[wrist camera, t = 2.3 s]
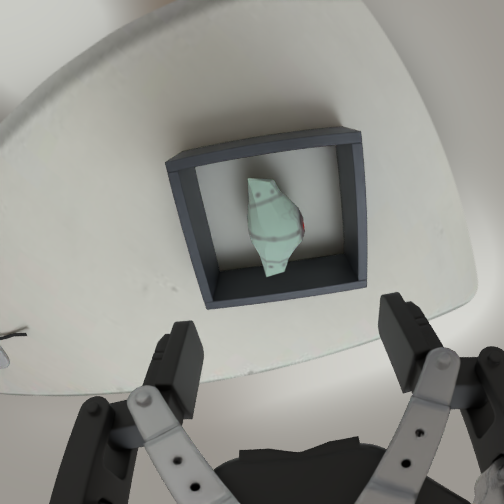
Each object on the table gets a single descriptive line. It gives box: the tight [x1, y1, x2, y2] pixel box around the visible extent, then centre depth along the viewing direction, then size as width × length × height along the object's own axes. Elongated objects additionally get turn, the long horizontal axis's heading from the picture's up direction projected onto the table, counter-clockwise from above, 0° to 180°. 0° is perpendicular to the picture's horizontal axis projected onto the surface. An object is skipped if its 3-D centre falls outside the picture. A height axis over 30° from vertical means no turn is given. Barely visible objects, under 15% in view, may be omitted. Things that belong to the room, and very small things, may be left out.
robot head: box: [247, 178, 305, 277], centre depth 24 cm, size 8×4×7 cm, turn 10°
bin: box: [165, 126, 367, 310], centre depth 24 cm, size 14×13×5 cm
